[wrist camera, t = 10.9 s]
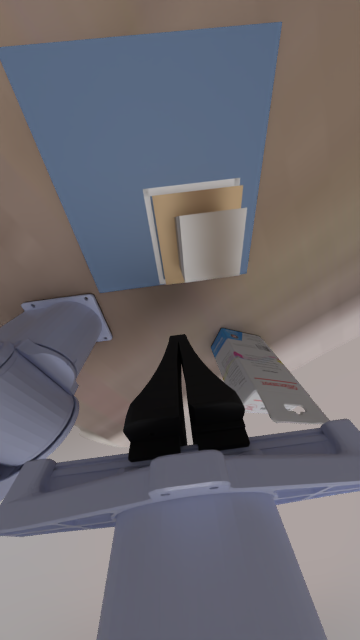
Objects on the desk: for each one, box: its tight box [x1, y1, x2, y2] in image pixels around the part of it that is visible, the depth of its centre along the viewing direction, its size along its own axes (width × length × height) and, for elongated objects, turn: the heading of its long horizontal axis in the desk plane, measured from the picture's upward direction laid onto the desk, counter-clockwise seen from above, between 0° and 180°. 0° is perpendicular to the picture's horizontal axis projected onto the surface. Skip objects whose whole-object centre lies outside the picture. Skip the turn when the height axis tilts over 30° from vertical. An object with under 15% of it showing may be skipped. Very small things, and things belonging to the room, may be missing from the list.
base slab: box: [152, 185, 243, 285], centre depth 17 cm, size 8×8×3 cm
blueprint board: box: [0, 22, 282, 293], centre depth 16 cm, size 20×18×1 cm
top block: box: [174, 208, 247, 283], centre depth 13 cm, size 4×4×5 cm
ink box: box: [211, 328, 330, 424], centre depth 22 cm, size 8×5×15 cm, turn 72°
